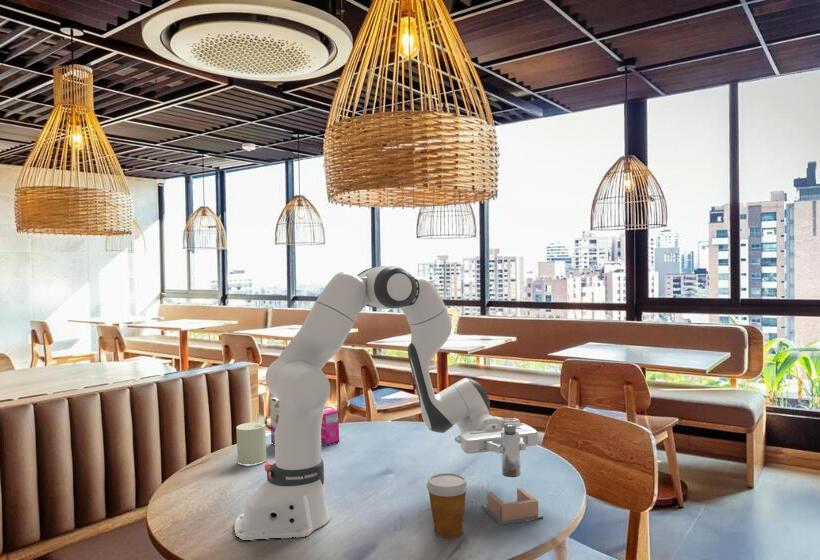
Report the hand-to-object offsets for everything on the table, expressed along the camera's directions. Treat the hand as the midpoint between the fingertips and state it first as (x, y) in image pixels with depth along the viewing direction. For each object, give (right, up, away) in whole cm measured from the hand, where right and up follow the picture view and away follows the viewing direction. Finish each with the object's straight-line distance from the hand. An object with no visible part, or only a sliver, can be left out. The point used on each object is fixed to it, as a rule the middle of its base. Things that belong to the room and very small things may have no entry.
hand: (512, 448), depth 138 cm
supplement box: (-54, -16, +62) cm, 83 cm away
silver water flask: (0, -6, +1) cm, 7 cm away
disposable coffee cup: (-16, -17, -8) cm, 25 cm away
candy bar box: (-69, -17, +59) cm, 92 cm away
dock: (0, -16, +1) cm, 16 cm away
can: (-76, -17, +44) cm, 89 cm away
